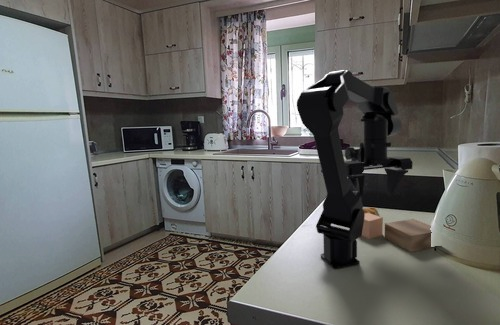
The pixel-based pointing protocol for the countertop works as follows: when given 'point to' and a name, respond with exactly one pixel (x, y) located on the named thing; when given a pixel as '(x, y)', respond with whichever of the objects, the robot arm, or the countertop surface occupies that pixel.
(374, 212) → the pastry
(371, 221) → the terracotta cube
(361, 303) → the countertop surface
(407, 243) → the brown wooden square block
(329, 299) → the countertop surface
